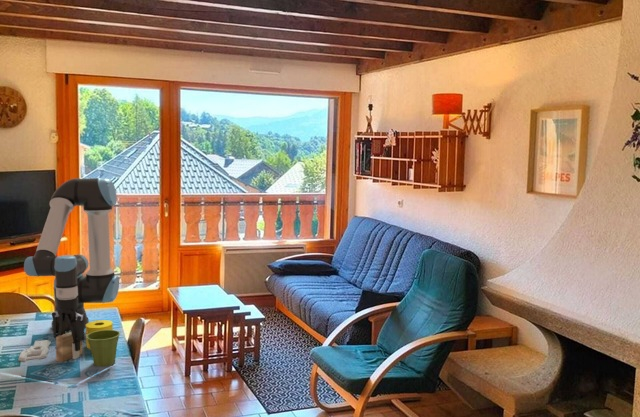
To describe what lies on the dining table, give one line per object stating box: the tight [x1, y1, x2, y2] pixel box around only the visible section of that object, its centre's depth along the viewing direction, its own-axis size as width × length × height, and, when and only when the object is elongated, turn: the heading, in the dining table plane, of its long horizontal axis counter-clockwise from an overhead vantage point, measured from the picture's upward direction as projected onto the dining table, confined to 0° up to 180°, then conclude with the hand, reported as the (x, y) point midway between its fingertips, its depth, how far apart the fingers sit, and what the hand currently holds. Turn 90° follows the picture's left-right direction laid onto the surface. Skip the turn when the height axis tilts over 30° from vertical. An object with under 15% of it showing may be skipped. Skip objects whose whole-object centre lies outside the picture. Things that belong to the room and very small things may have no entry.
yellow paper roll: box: [85, 319, 114, 350], centre depth 243 cm, size 10×10×9 cm
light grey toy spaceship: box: [17, 339, 52, 363], centre depth 235 cm, size 18×4×10 cm
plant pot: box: [85, 329, 121, 367], centre depth 225 cm, size 12×12×11 cm
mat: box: [20, 375, 54, 383], centre depth 219 cm, size 16×14×1 cm
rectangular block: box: [55, 331, 83, 363], centre depth 231 cm, size 3×10×9 cm, turn 159°
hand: (69, 357), depth 231 cm, fingers open, 5 cm apart
